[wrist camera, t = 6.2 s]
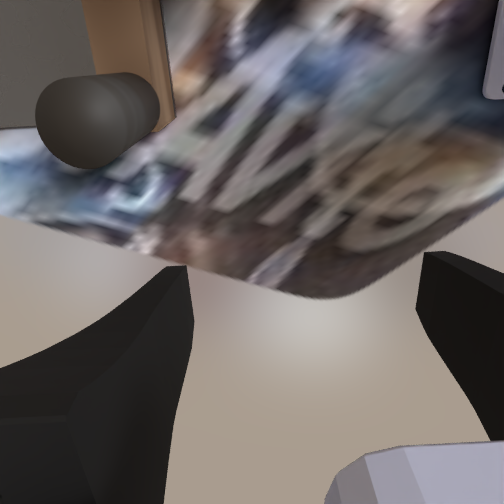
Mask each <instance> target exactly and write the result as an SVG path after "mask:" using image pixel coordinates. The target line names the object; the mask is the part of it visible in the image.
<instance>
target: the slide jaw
mask: <svg viewBox="0 0 504 504" xmlns="http://www.w3.org/2000/svg"><path fill="white" fill-rule="evenodd" d="M81 2H82V7H83V12H84V17H85V21H86V26H87V31H88V36H89V41H90V46H91V51H92V55H93V60H94V65H95V70H96V75H89V76H78V77H68V78H62V79H59V80H56V81H54V82H52V83H51V84H49V85H48V86H47V87H46V88H45V89H44V90H43V91H42V93H41V94H40V96H39V98H38V101H37V104H36V109H35V121H36V126H37V130H38V133H39V135H40V137H41V139H42V141H43V142H44V144H45V146H46V147H47V148H48V149H49V150H50V152H51V153H52V154H53V155H55V156H56V157H57V158H58V159H60V160H61V161H63V162H65V163H66V164H68V165H71V166H74V167H77V168H82V169H95V168H99V167H102V166H105V165H107V164H108V163H110V162H111V161H113V160H114V159H115V158H117V157H118V156H119V155H121V154H122V153H123V152H125V151H126V150H127V149H129V148H130V147H131V146H133V145H134V144H135V143H137V142H138V141H139V140H141V139H142V138H143V137H145V136H146V135H147V134H149V133H150V132H159V131H160V130H161V129H163V128H164V127H165V126H166V125H167V124H169V123H170V122H171V121H172V120H173V119H175V115H174V107H173V100H172V92H171V85H170V77H169V70H168V62H167V55H166V47H165V40H164V32H163V25H162V17H161V10H160V2H159V0H81Z"/></svg>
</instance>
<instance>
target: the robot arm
mask: <svg viewBox="0 0 504 504" xmlns="http://www.w3.org/2000/svg"><path fill="white" fill-rule="evenodd" d="M503 85H504V0H499V3H498V8H497V14H496V19H495V24H494V30H493V35H492V41H491V46H490V51H489V57H488V62H487V67H486V73H485V78H484V83H483V95H484V97H486V98H487V99H494V100H495V99H504V93H503V92H502V87H503ZM416 311H417V314H418V316H419V319H420V321H421V323H422V325H423V328H424V330H425V332H426V334H427V336H428V337H429V339H430V340H431V342H432V344H433V346H434V347H435V349H436V350H437V352H438V353H439V355H440V356H441V358H442V359H443V361H444V363H445V364H446V366H447V367H448V368H449V370H450V372H451V373H452V375H453V376H454V378H455V379H456V381H457V382H458V384H459V385H460V387H461V388H462V390H463V391H464V393H465V394H466V396H467V398H468V399H469V401H470V403H471V404H472V406H473V408H474V409H475V411H476V413H477V415H478V417H479V419H480V421H481V423H482V425H483V427H484V429H485V431H486V433H487V435H488V437H489V439H490V441H485V442H467V443H466V442H464V443H445V444H425V445H406V446H396V447H392V448H388V449H383V450H379V451H375V452H371V453H366V454H364V455H363V456H361V457H360V458H358V459H357V460H355V461H354V462H352V463H351V464H349V465H348V466H346V467H345V468H343V469H342V470H340V471H339V472H338V474H337V475H336V476H335V478H334V480H333V482H332V484H331V486H330V489H329V491H328V493H327V495H326V498H325V503H324V504H504V273H501V272H499V271H496V270H494V269H491V268H489V267H487V266H484V265H482V264H479V263H477V262H475V261H472V260H469V259H467V258H464V257H462V256H459V255H456V254H453V253H450V252H446V251H437V252H424V257H423V263H422V270H421V276H420V283H419V289H418V296H417V303H416ZM193 330H194V315H193V308H192V301H191V294H190V288H189V280H188V273H187V266H186V265H185V266H167V267H165V268H164V269H162V270H161V271H160V272H159V273H158V274H157V275H155V276H154V277H153V278H152V279H151V280H150V281H149V282H147V283H146V284H145V285H144V286H143V287H141V288H140V289H139V290H138V291H137V292H135V293H134V294H133V295H132V296H131V297H129V298H128V299H127V300H125V301H124V302H123V303H121V304H120V305H119V306H118V307H116V308H115V309H113V310H112V311H111V312H110V313H108V314H107V315H105V316H104V317H102V318H101V319H100V320H98V321H96V322H95V323H93V324H91V325H90V326H88V327H86V328H85V329H83V330H81V331H80V332H78V333H76V334H75V335H73V336H71V337H69V338H67V339H65V340H63V341H61V342H59V343H57V344H55V345H53V346H51V347H49V348H47V349H45V350H43V351H41V352H38V353H36V354H34V355H32V356H29V357H27V358H25V359H22V360H20V361H18V362H15V363H12V364H10V365H7V366H5V367H2V368H0V504H163V503H164V495H165V487H166V478H167V470H168V461H169V454H170V447H171V439H172V432H173V425H174V420H175V415H176V410H177V406H178V402H179V398H180V394H181V390H182V386H183V382H184V378H185V374H186V370H187V365H188V362H189V357H190V353H191V349H192V340H193Z"/></svg>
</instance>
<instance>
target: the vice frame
mask: <svg viewBox="0 0 504 504" xmlns="http://www.w3.org/2000/svg"><path fill="white" fill-rule="evenodd" d="M159 2H160V10H161V17H162V25H163V32H164V40H165V47H166V55H167V62H168V70H169V77H170V85H171V92H172V100H173V107H174V115H175V118H176V117H177V115H176V107H175V100H174V92H173V84H172V77H171V69H170V61H169V54H168V46H167V39H166V31H165V23H164V16H163V8H162V0H159ZM89 75H96V70H95V65H94V60H93V55H92V51H91V46H90V41H89V36H88V31H87V26H86V21H85V17H84V12H83V7H82V2H81V0H0V128H7V127H24V126H36V121H35V109H36V104H37V101H38V98H39V96H40V94H41V93H42V91H43V90H44V89H45V88H46V87H47V86H48V85H49V84H51V83H52V82H54V81H56V80H59V79H62V78H68V77H78V76H89Z"/></svg>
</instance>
